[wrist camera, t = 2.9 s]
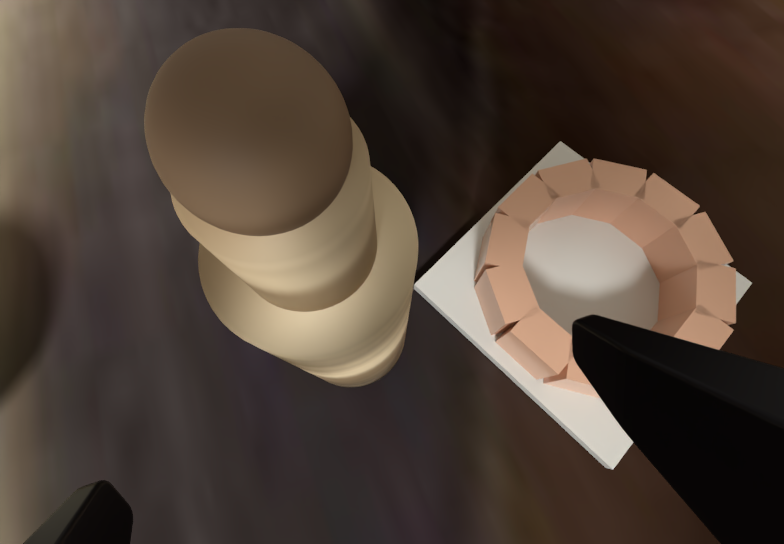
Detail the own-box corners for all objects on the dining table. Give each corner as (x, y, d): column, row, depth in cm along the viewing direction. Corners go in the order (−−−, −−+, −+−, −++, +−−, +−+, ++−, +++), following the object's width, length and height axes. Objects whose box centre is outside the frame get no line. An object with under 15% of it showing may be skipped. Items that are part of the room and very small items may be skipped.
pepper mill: (426, 332, 19) (540, 61, 4) (350, 411, 18) (161, 398, 3) (354, 263, 20) (251, -140, 5) (278, 333, 19) (-105, 64, 4)
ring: (742, 286, 20) (802, 264, 17) (605, 467, 17) (649, 478, 14) (556, 147, 22) (580, 107, 19) (413, 288, 20) (417, 266, 17)
